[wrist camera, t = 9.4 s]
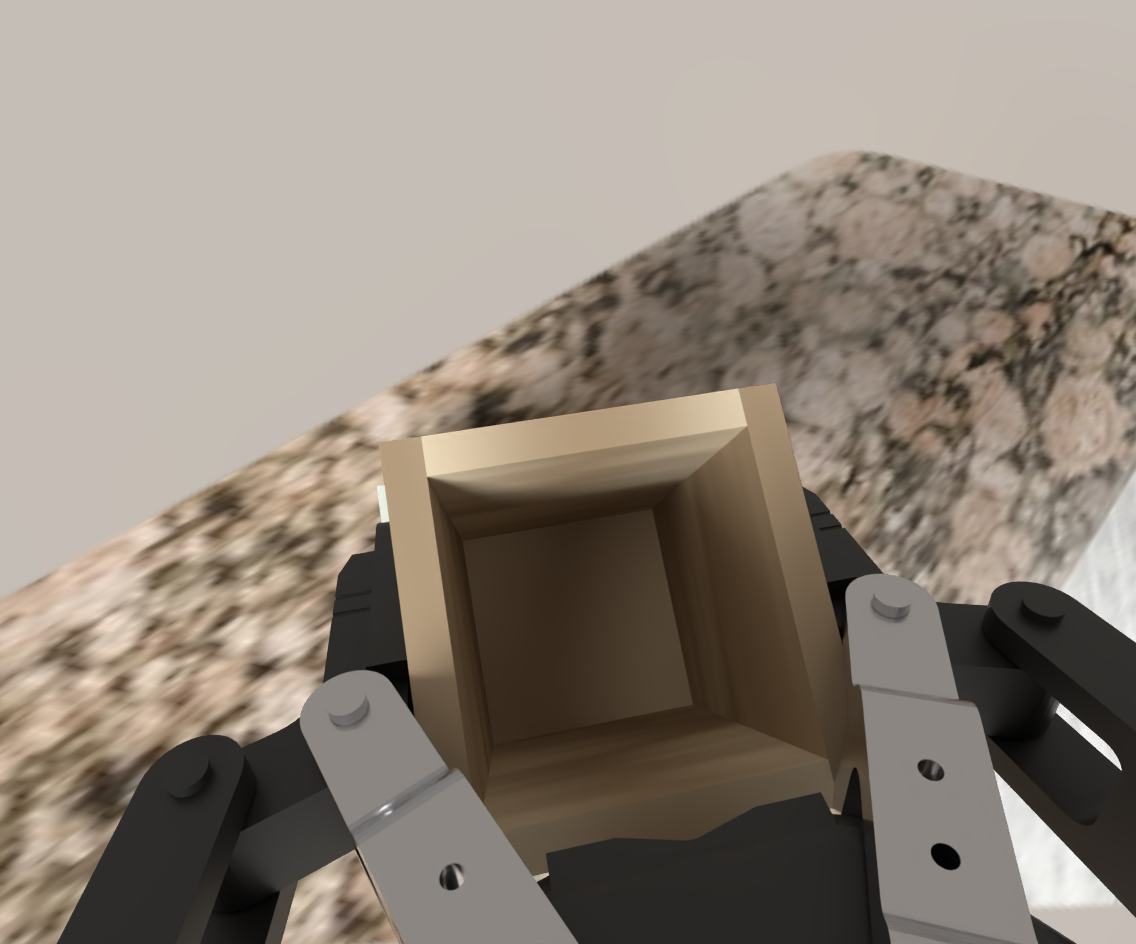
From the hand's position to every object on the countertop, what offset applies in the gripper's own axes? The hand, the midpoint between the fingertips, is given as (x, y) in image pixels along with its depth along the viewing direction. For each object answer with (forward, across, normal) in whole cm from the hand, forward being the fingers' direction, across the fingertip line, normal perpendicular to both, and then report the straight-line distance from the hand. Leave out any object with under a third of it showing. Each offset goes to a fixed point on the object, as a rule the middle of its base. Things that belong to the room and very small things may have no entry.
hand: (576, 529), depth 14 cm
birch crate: (+2, 0, +4) cm, 5 cm away
